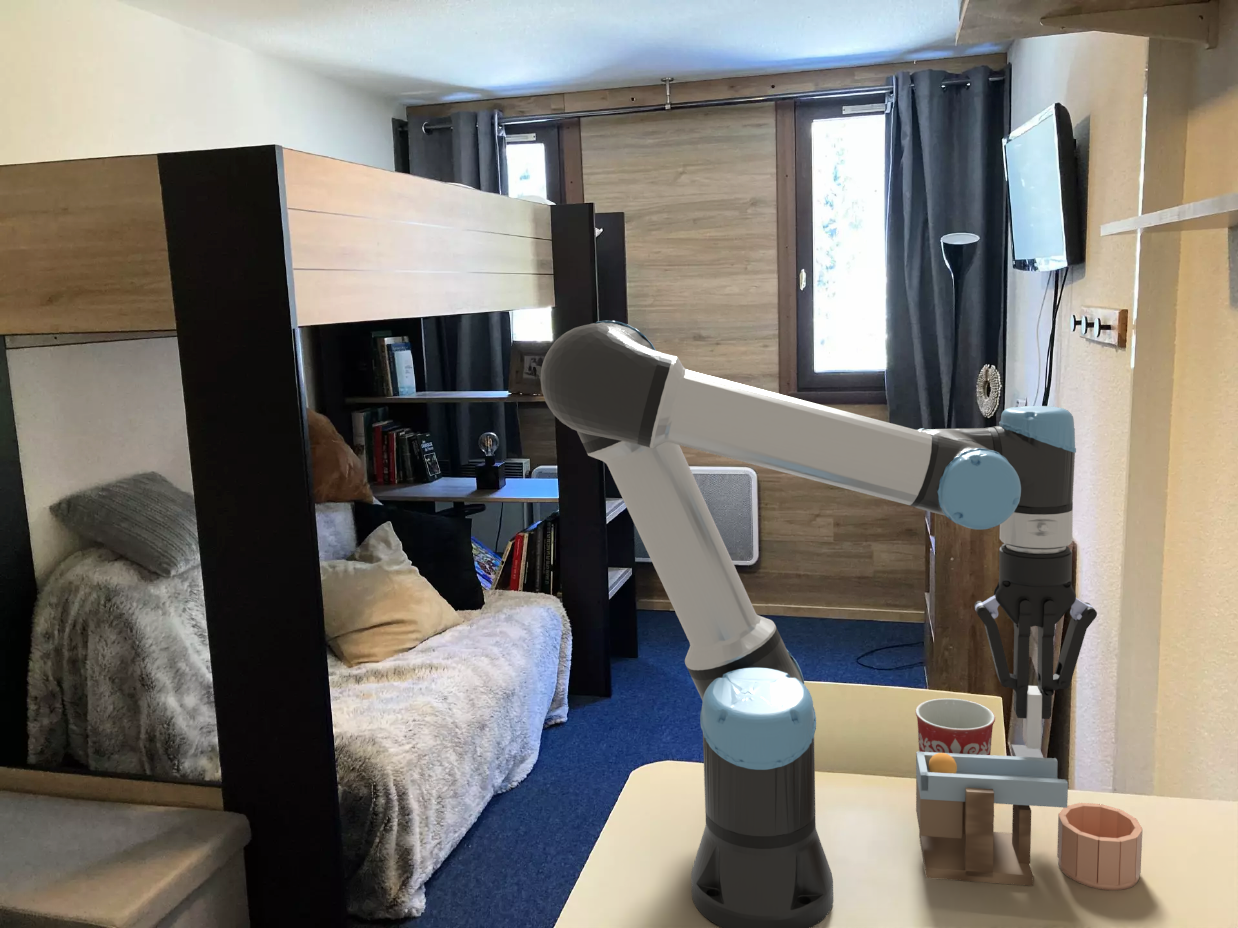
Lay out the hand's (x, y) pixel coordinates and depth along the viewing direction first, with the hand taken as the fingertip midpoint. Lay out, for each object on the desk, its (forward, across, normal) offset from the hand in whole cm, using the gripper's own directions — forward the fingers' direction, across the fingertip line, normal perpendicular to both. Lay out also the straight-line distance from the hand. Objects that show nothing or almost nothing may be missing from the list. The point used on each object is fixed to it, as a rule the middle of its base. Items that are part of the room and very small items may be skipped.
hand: (1031, 743), depth 114 cm
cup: (+11, +6, -6) cm, 14 cm away
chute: (+7, -6, -3) cm, 10 cm away
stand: (+11, -7, -6) cm, 15 cm away
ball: (0, -10, -6) cm, 12 cm away
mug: (+12, -8, +5) cm, 15 cm away
